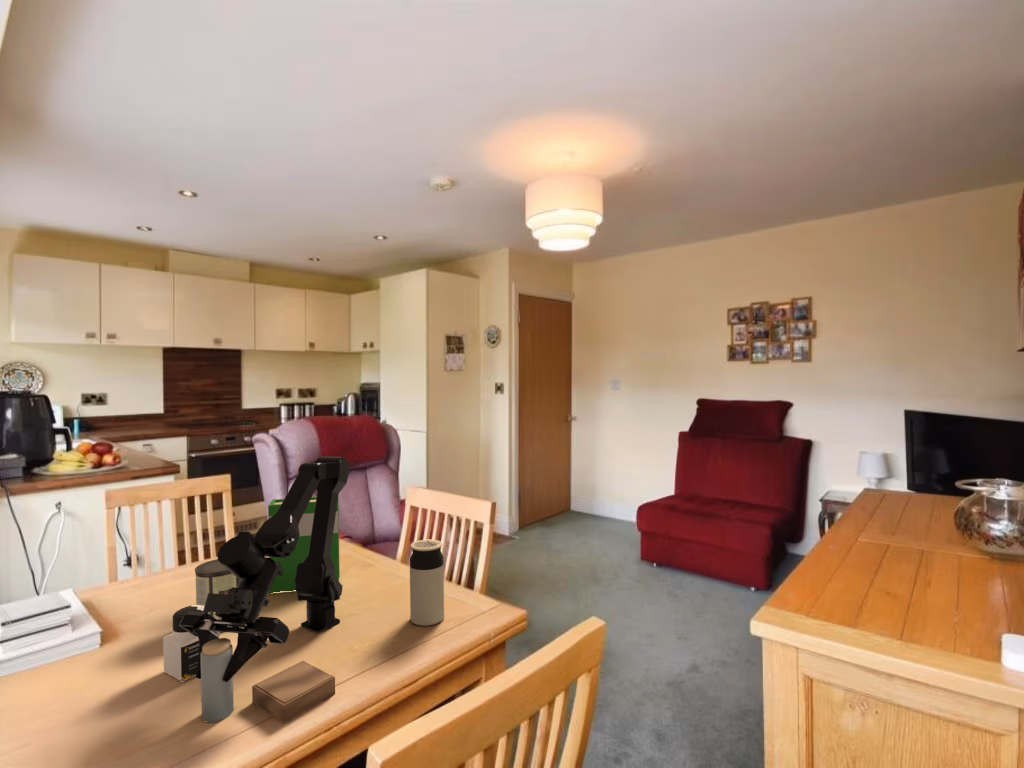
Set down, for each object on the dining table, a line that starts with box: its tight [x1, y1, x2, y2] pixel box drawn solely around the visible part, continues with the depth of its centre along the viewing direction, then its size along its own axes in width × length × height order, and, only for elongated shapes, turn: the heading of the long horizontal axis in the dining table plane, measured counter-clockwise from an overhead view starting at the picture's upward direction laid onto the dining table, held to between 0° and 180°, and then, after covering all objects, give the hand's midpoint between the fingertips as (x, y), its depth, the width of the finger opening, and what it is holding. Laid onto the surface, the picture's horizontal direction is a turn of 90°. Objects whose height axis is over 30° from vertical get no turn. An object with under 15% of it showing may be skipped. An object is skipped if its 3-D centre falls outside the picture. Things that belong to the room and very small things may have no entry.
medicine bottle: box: [162, 604, 204, 682], centre depth 104 cm, size 7×7×12 cm
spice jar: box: [200, 637, 235, 723], centre depth 90 cm, size 5×5×12 cm
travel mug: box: [409, 538, 445, 627], centre depth 125 cm, size 8×8×18 cm
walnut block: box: [251, 660, 336, 724], centre depth 94 cm, size 10×10×3 cm
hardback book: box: [267, 495, 341, 594], centre depth 146 cm, size 18×7×24 cm, turn 107°
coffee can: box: [194, 558, 241, 627], centre depth 123 cm, size 10×10×14 cm
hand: (211, 679), depth 89 cm, fingers closed on spice jar, 5 cm apart
